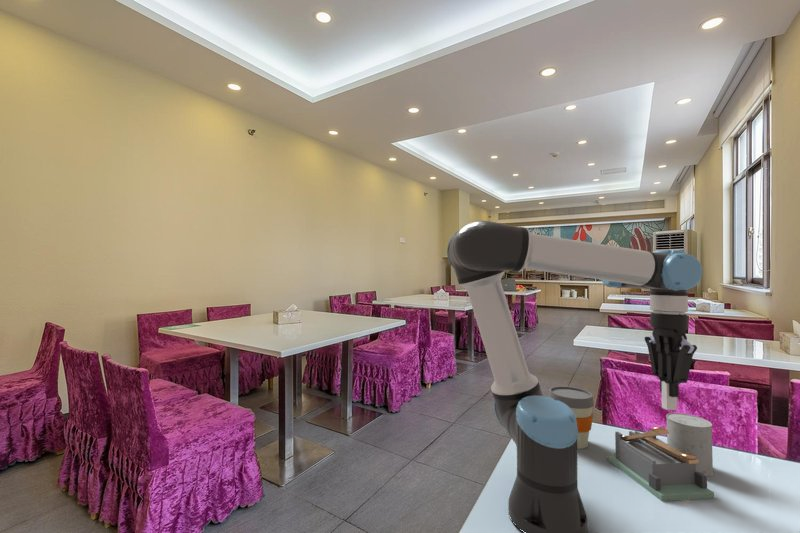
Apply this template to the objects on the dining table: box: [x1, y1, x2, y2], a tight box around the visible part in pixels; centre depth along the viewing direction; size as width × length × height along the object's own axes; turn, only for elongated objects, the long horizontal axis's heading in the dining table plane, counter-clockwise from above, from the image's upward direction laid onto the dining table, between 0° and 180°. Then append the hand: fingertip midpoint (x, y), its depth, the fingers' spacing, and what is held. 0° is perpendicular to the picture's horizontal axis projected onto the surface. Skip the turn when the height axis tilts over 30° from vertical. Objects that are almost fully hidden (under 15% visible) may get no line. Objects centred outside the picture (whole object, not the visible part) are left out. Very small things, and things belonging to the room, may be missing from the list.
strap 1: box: [623, 426, 669, 442], centre depth 90 cm, size 3×15×2 cm
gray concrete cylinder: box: [665, 412, 714, 477], centre depth 94 cm, size 10×10×12 cm
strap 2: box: [642, 437, 699, 464], centre depth 89 cm, size 3×15×2 cm, turn 5°
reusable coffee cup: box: [548, 385, 595, 450], centre depth 108 cm, size 13×13×15 cm
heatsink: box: [607, 430, 715, 502], centre depth 89 cm, size 13×18×8 cm
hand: (669, 408), depth 87 cm, fingers closed
